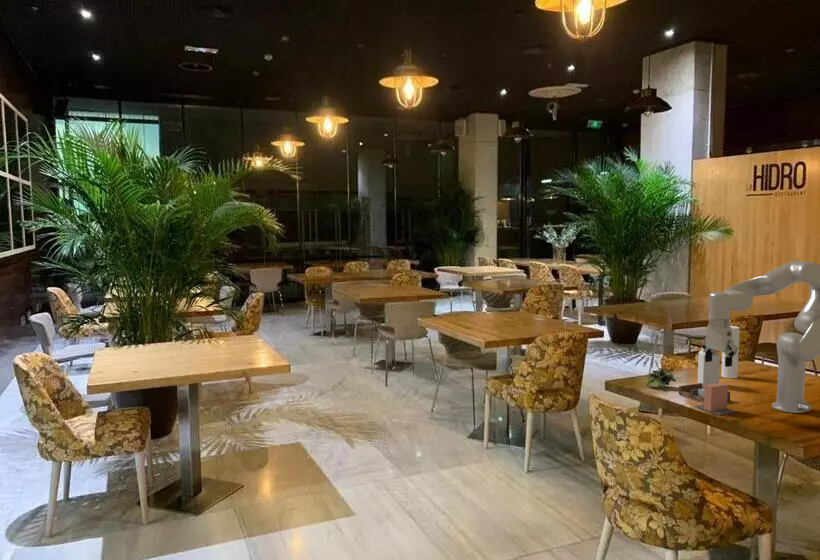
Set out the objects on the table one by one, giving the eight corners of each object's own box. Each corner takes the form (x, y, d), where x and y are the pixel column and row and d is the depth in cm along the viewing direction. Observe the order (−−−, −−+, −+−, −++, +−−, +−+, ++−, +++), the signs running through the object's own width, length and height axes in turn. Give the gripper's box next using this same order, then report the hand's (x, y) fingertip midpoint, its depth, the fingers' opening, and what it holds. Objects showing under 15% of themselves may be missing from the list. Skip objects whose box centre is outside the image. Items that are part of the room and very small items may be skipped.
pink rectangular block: (726, 408, 255) (727, 384, 254) (710, 411, 251) (711, 387, 251) (719, 406, 258) (720, 382, 257) (703, 408, 255) (704, 385, 254)
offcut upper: (723, 396, 267) (723, 390, 267) (709, 398, 264) (709, 393, 264) (711, 393, 273) (711, 387, 273) (698, 395, 270) (698, 389, 270)
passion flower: (662, 397, 293) (678, 377, 292) (664, 399, 282) (680, 378, 281) (641, 382, 296) (657, 362, 295) (642, 383, 286) (659, 363, 285)
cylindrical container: (718, 375, 310) (720, 326, 307) (727, 374, 313) (729, 325, 310) (730, 379, 303) (732, 328, 301) (740, 377, 306) (742, 327, 304)
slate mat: (735, 412, 251) (735, 411, 251) (719, 415, 248) (719, 414, 248) (711, 404, 262) (711, 403, 262) (695, 407, 259) (695, 405, 259)
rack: (729, 400, 268) (730, 391, 267) (707, 404, 263) (707, 395, 262) (700, 391, 282) (700, 383, 282) (678, 394, 277) (679, 386, 277)
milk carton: (712, 383, 297) (714, 344, 295) (718, 387, 290) (720, 347, 288) (697, 382, 297) (698, 343, 295) (702, 386, 290) (704, 346, 288)
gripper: (744, 324, 245) (743, 367, 246) (708, 318, 261) (707, 358, 262) (730, 326, 242) (729, 369, 244) (694, 320, 258) (694, 360, 260)
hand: (718, 363), depth 253 cm, fingers open, 9 cm apart
